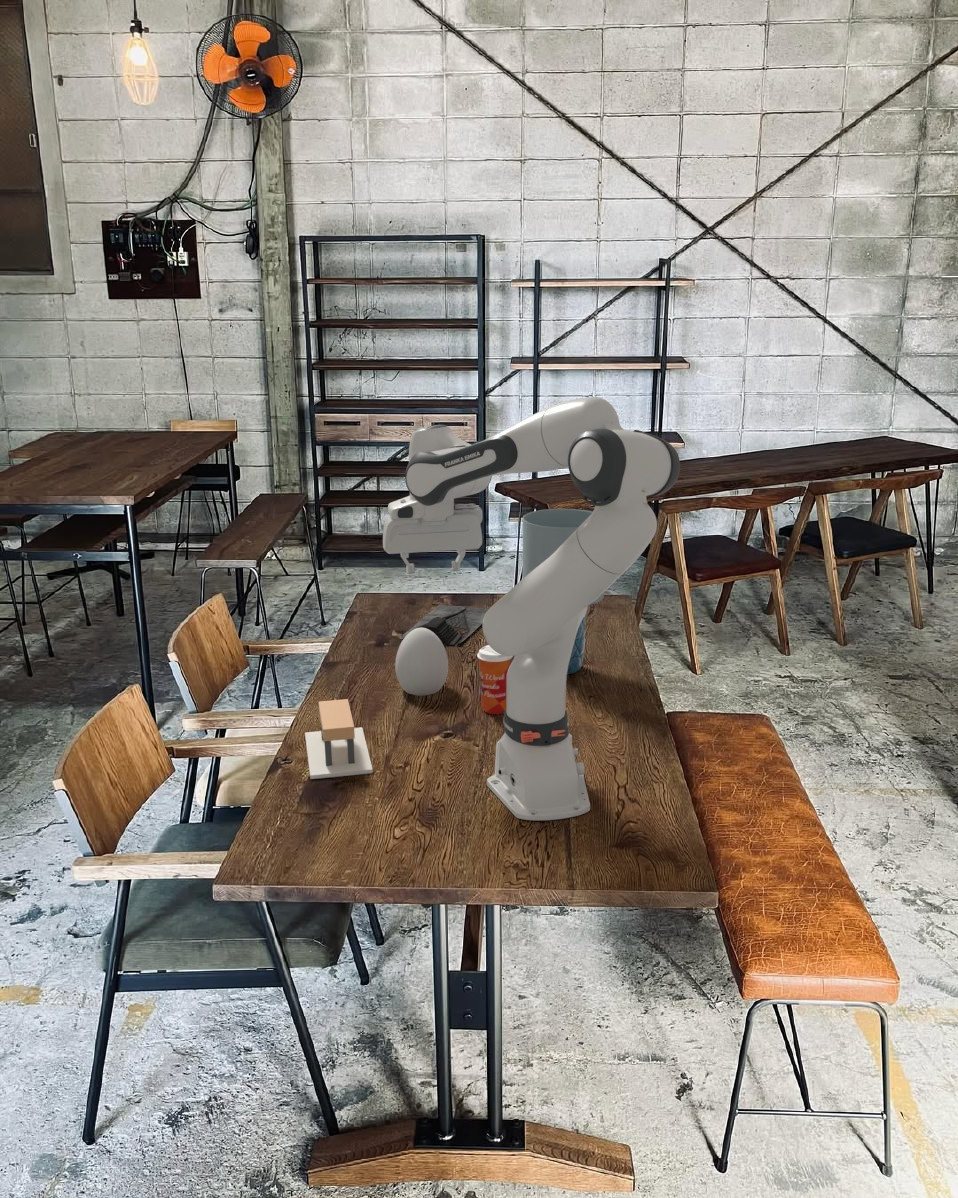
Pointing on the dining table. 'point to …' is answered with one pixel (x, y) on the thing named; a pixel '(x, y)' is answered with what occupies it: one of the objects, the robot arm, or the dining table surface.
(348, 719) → the bench model
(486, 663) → the paper cup
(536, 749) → the robot arm
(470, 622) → the architectural model
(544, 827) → the dining table surface
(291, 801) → the dining table surface
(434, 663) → the decorative egg
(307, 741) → the felt mat
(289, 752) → the dining table surface
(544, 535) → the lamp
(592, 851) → the dining table surface
